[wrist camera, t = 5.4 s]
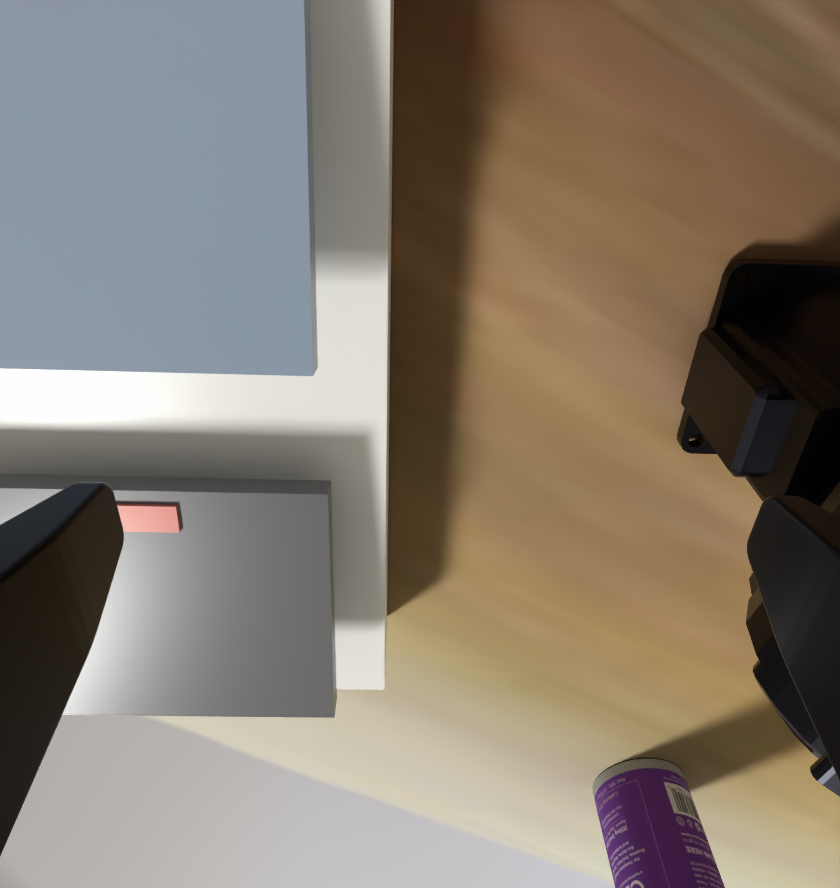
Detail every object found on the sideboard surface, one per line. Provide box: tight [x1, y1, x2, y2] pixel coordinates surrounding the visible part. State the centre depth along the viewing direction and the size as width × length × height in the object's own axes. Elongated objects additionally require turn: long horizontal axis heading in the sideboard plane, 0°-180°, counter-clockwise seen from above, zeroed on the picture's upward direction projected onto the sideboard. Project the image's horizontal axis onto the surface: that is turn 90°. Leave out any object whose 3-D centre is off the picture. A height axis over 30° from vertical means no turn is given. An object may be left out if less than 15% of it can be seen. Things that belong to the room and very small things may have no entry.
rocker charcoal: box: [0, 474, 337, 717], centre depth 20 cm, size 11×8×2 cm
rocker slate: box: [0, 0, 318, 376], centre depth 13 cm, size 11×8×2 cm
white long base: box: [0, 0, 394, 690], centre depth 19 cm, size 14×25×4 cm, turn 178°
